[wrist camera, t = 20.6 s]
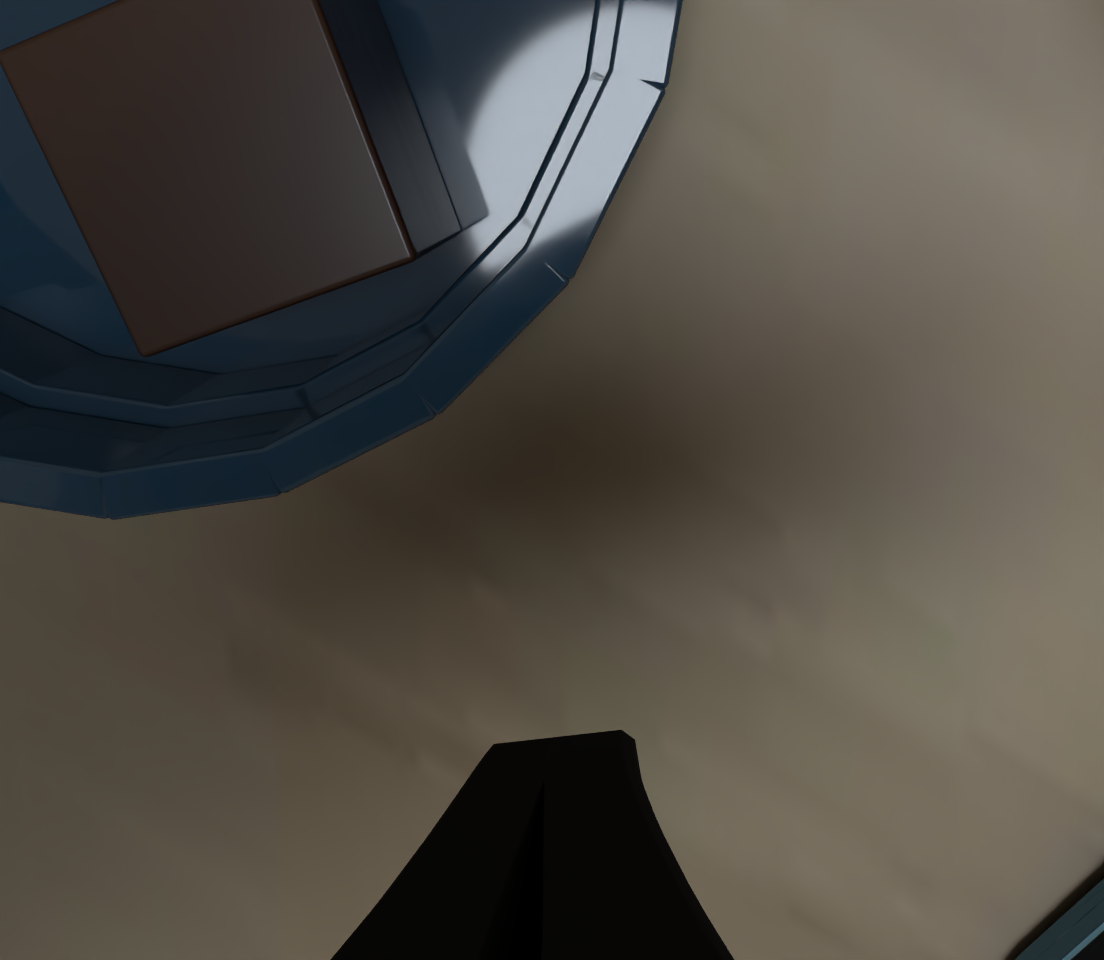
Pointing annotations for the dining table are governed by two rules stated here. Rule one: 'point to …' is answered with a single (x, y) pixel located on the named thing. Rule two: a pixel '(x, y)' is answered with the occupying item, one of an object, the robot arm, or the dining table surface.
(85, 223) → the walnut block
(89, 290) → the teal bowl
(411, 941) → the robot arm
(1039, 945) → the smartphone
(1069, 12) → the dining table surface
